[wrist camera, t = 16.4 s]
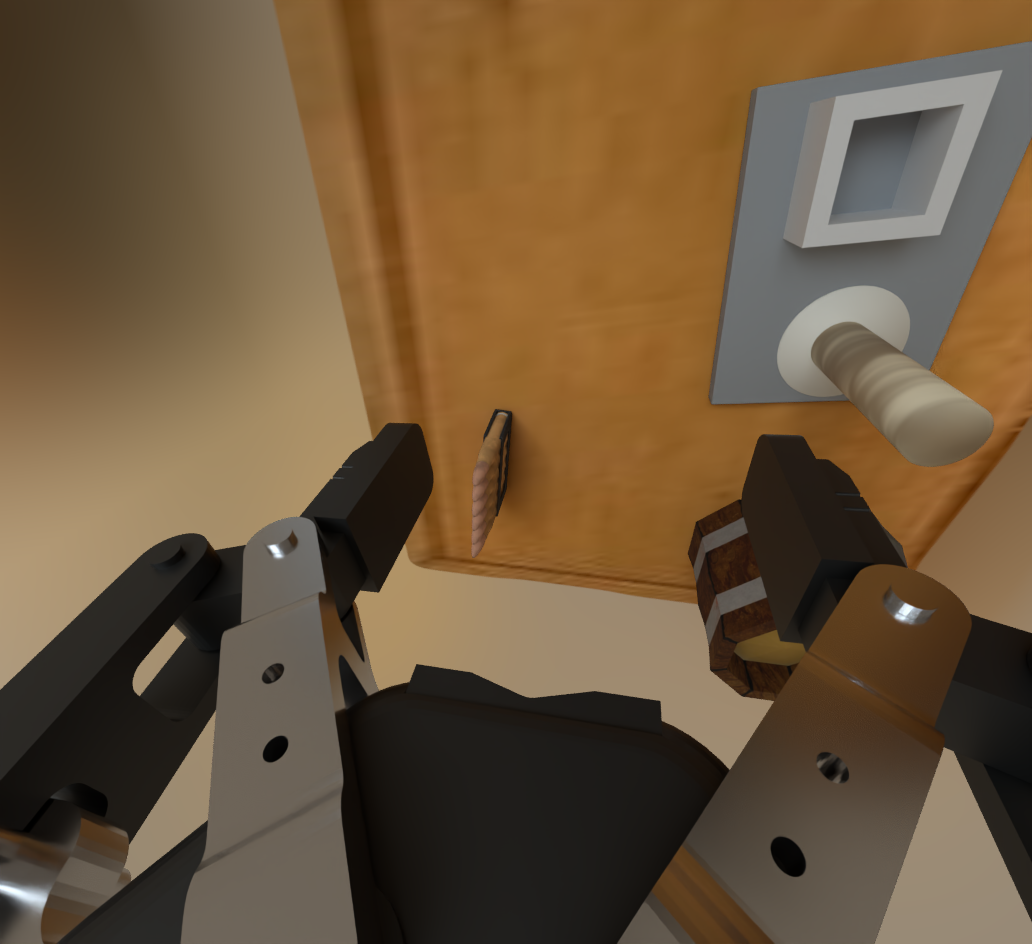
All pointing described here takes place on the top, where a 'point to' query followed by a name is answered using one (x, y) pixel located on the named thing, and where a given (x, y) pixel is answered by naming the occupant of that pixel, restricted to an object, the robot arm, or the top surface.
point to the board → (864, 212)
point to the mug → (741, 607)
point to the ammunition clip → (490, 477)
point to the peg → (901, 396)
